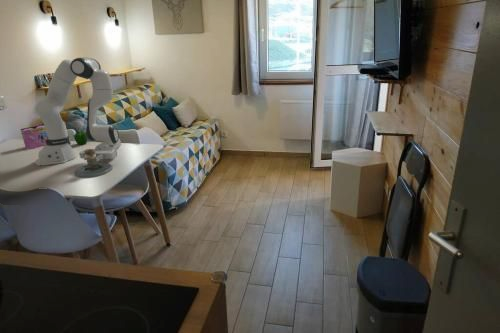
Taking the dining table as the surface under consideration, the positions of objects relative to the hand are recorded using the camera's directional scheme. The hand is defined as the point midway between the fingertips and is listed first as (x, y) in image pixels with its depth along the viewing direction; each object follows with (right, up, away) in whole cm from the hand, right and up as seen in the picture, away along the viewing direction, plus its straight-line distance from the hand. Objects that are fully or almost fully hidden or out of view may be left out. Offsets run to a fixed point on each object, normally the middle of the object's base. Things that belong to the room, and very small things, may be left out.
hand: (90, 158), depth 196 cm
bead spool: (0, -5, +3) cm, 6 cm away
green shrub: (-30, +12, +53) cm, 62 cm away
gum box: (-58, +11, +55) cm, 81 cm away
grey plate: (0, -7, +4) cm, 8 cm away
